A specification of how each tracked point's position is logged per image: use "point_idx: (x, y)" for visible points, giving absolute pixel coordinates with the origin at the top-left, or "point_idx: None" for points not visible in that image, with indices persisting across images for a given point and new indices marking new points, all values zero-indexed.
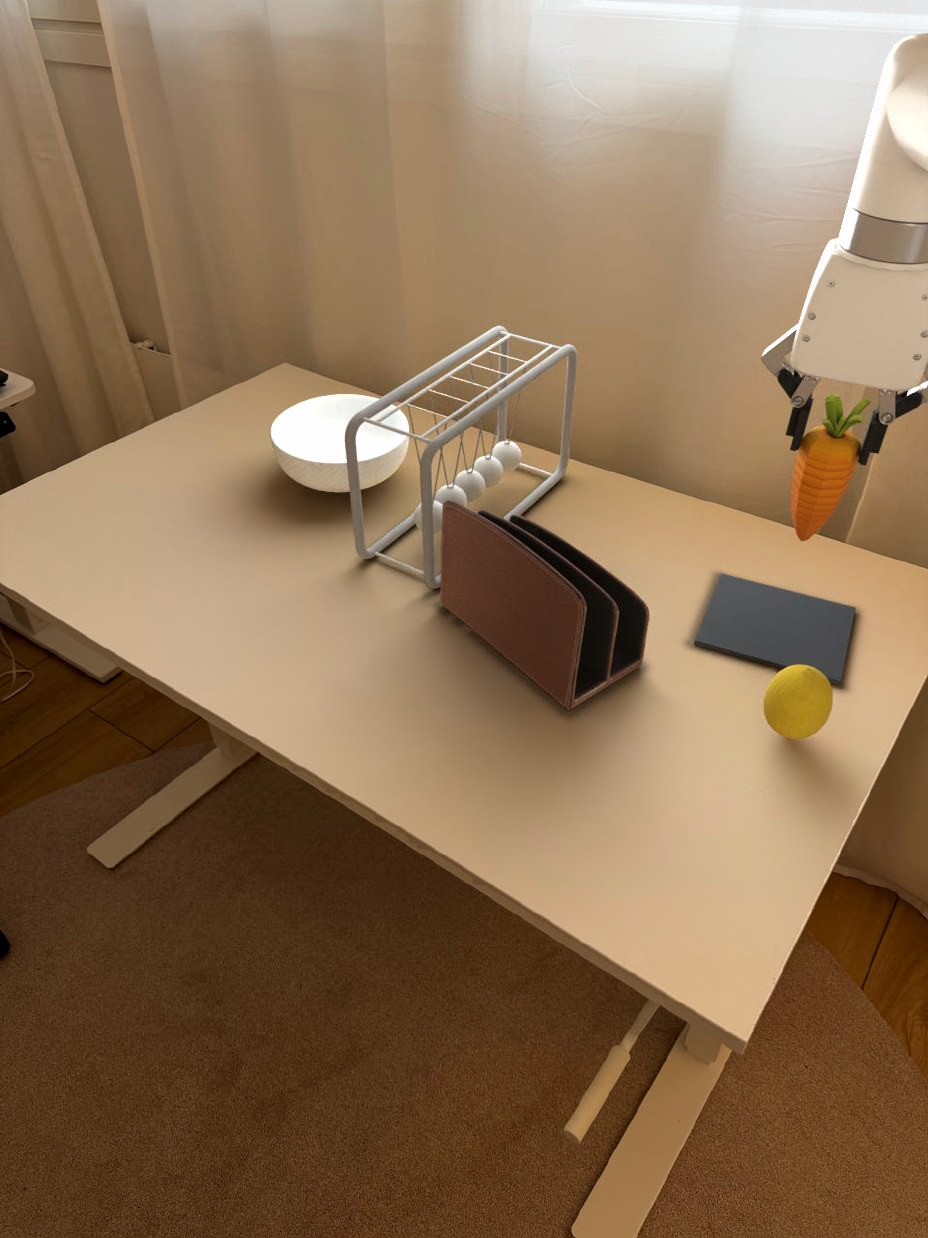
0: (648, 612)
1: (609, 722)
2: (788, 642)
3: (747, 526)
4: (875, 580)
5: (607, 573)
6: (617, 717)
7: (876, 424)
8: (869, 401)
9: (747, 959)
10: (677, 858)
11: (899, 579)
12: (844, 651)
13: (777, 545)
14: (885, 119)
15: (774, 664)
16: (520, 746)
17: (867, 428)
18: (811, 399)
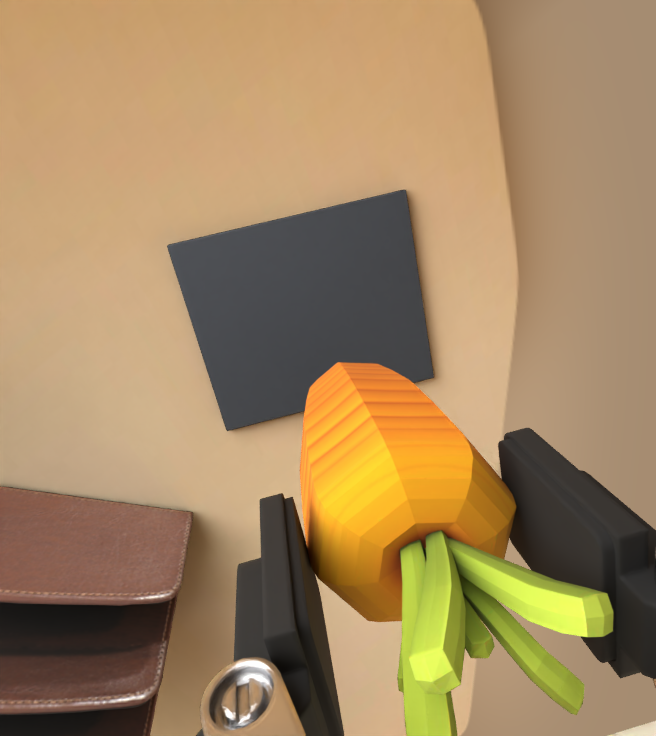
0: (178, 590)
1: (219, 602)
2: (343, 348)
3: (113, 21)
4: (411, 61)
5: (68, 604)
6: (222, 591)
7: (633, 672)
8: (609, 628)
9: (453, 703)
10: (367, 675)
11: (449, 26)
12: (421, 314)
13: (204, 59)
14: None
15: None
16: (161, 682)
17: (549, 510)
18: (306, 649)
